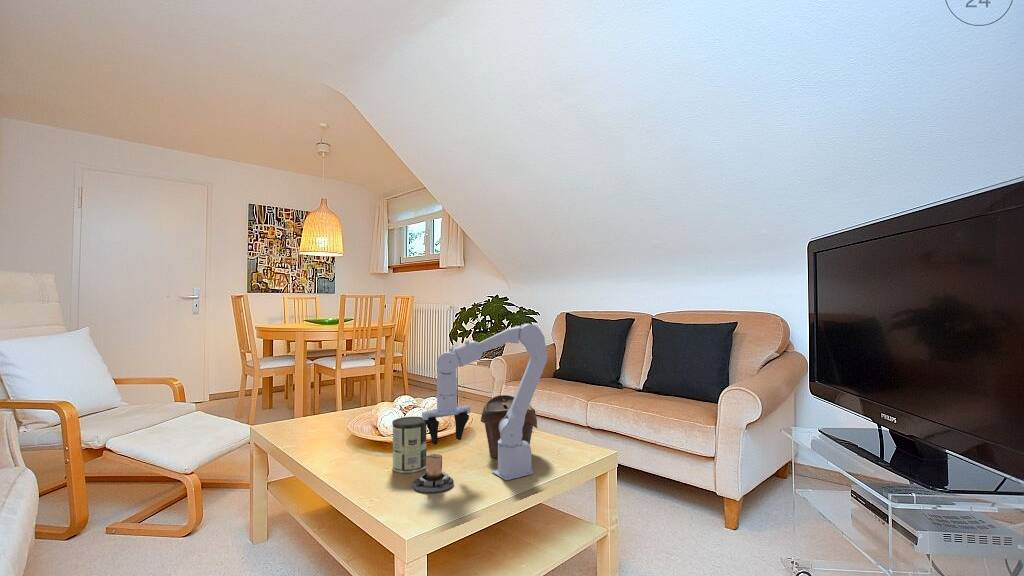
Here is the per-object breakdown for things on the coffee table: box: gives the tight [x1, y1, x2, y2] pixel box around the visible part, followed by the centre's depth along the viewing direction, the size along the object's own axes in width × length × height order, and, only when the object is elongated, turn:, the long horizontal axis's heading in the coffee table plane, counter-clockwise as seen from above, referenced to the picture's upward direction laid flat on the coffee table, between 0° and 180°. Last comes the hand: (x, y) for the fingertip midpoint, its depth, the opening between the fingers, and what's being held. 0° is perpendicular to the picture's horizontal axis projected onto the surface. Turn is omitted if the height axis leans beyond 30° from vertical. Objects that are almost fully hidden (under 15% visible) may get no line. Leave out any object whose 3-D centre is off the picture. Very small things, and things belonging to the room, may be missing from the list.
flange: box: [412, 471, 455, 494], centre depth 129 cm, size 11×11×2 cm
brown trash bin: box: [480, 394, 538, 459], centre depth 156 cm, size 18×20×18 cm
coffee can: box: [391, 416, 427, 474], centre depth 144 cm, size 10×10×14 cm
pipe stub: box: [425, 453, 443, 481], centre depth 129 cm, size 4×4×7 cm
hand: (446, 441), depth 136 cm, fingers open, 7 cm apart
